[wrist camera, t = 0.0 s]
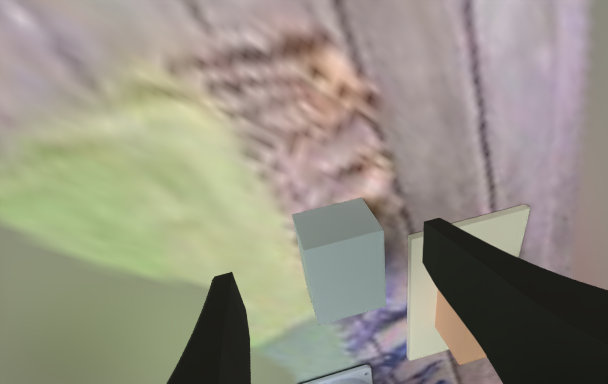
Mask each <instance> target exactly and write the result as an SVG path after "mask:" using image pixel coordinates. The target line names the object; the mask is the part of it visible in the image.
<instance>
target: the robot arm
mask: <svg viewBox="0 0 608 384" xmlns="http://www.w3.org/2000/svg"><path fill="white" fill-rule="evenodd" d="M422 263H423V264H424V266H425V268H426V270H427V272H428V274H429V275H430V277H431V279H432V281H433V282H434V284H435V286H436V287H437V288H438V290H439V291H440V292H441V294H442V295H443V297H444V298H445V299H446V301H447V302H448V303H449V305H450V306H451V307H452V309H453V310H454V311H455V313H456V314H457V315H458V316H459V318H460V319H461V320H462V322H463V323H464V324H465V326H466V327H467V328H468V330H469V331H470V332H471V334H472V335H473V336H474V338H475V339H476V341H477V342H478V344H479V345H480V346H481V348H482V349H483V351H484V353H485V354H486V356H487V358H488V359H489V361H490V362H491V364H492V366H493V367H494V369H495V371H496V372H497V374H498V376H499V377H500V379H501V381H502V382H503V384H608V290H605V289H602V288H598V287H595V286H592V285H589V284H586V283H583V282H579V281H576V280H573V279H571V278H568V277H565V276H562V275H559V274H557V273H554V272H552V271H549V270H546V269H544V268H541V267H539V266H536V265H534V264H531V263H529V262H527V261H525V260H522V259H520V258H518V257H516V256H513V255H511V254H509V253H507V252H505V251H503V250H501V249H499V248H497V247H495V246H493V245H491V244H489V243H487V242H485V241H483V240H481V239H479V238H477V237H475V236H473V235H471V234H469V233H468V232H466V231H464V230H462V229H460V228H458V227H456V226H455V225H453V224H451V223H449V222H447V221H445V220H443V219H441V218H436V219H433V220H429V221H425V222H424V233H423V257H422ZM167 384H251V372H250V336H249V328H248V321H247V314H246V309H245V306H244V303H243V301H242V298H241V295H240V293H239V290H238V287H237V284H236V282H235V279H234V276H233V273H232V272H230V273H226V274H222V275H219V276H215V277H214V278H213V280H212V283H211V286H210V289H209V292H208V295H207V298H206V301H205V303H204V306H203V309H202V311H201V314H200V316H199V319H198V321H197V323H196V326H195V328H194V331H193V333H192V335H191V337H190V339H189V341H188V343H187V346H186V348H185V350H184V352H183V354H182V356H181V358H180V360H179V362H178V364H177V366H176V368H175V369H174V371H173V373H172V375H171V377H170V378H169V380H168V382H167ZM303 384H373V383H372V371H371V367H370V365H363V366H360V367H356V368H353V369H350V370H346V371H343V372H340V373H336V374H333V375H330V376H326V377H323V378H320V379H316V380H313V381H310V382H306V383H303Z"/></svg>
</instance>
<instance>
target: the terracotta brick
mask: <svg viewBox="0 0 608 384" xmlns="http://www.w3.org/2000/svg"><path fill="white" fill-rule="evenodd" d="M435 327H436V329H437V331H438V332H439V334H440V335H441V337H442V338H443V340H444V342H445V343H446V345H447V346H448V348H449V349H450V351H451V352H452V354H453V356H454V357H455V359H456V360H457V362H458V363H459V365H462V364H465V363H468V362H472V361H475V360H478V359H481V358H485V357H487V356H486V354H485V353H484V351H483V349H482V348H481V346H480V345H479V344H478V342H477V341H476V339H475V338H474V336H473V335H472V334H471V332H470V331H469V330H468V328H467V327H466V326H465V324H464V323H463V322H462V320H461V319H460V318H459V316H458V315H457V314H456V313H455V311H454V310H453V309H452V307H451V306H450V305H449V303H448V302H447V301H446V299H445V298H444V297H443V295H442V294H441V292H440V291H439V290H438V291H437V304H436V316H435Z"/></svg>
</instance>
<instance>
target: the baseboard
mask: <svg viewBox="0 0 608 384" xmlns="http://www.w3.org/2000/svg"><path fill="white" fill-rule="evenodd" d="M529 212H530V208H529V207H528V206H526V205H525V204H524V205H520V206H516V207H513V208H509V209H505V210H501V211H498V212H494V213H490V214H486V215H482V216H479V217H475V218H471V219H467V220H464V221H460V222H456V223H452V224H453V225H455V226H456V227H458V228H460V229H462V230H464V231H466V232H468V233H469V234H471V235H473V236H475V237H477V238H479V239H481V240H483V241H485V242H487V243H489V244H491V245H493V246H495V247H497V248H499V249H501V250H503V251H505V252H507V253H509V254H511V255H513V256H516V257H519V253H520V249H521V244H522V240H523V236H524V232H525V228H526V224H527V220H528V216H529ZM423 233H424V231H422V232H418V233H414V234H411V235H408V285H407V358H408V359H409V361H412V360H415V359H418V358H421V357H425V356H428V355H431V354H435V353H438V352H441V351H445V350H448V349H449V348H448V346H447V345H446V343H445V342H444V340H443V338H442V337H441V335H440V334H439V332H438V331H437V329H436V327H435V316H436V304H437V291H438V288H437V287H436V286H435V284H434V282H433V281H432V279H431V277H430V275H429V274H428V272H427V270H426V268H425V266H424V264H423V263H422V257H423Z"/></svg>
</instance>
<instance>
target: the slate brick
mask: <svg viewBox="0 0 608 384" xmlns="http://www.w3.org/2000/svg"><path fill="white" fill-rule="evenodd" d="M292 217H293V222H294V227H295V231H296V236H297V241H298V246H299V251H300V256H301V261H302V265H303V270H304V275H305V280H306V285H307V289H308V292H309V295H310V299H311V302H312V306H313V309H314V312H315V316H316V319H317V322H318V325H322V324H325V323H329V322H332V321H336V320H339V319H343V318H346V317H350V316H353V315H357V314H360V313H364V312H368V311H371V310H375V309H378V308H382V307H385V306H386V290H385V255H384V230H383V228H382V227H381V225H380V224H379V222H378V221H377V219H376V218H375V216H374V215H373V213H372V212H371V211H370V209H369V208H368V206H367V205H366V203H365V202H364V200H363V199H362V198H358V199H354V200H350V201H346V202H342V203H337V204H333V205H329V206H325V207H321V208H317V209H313V210H309V211H305V212H301V213H297V214H293V215H292Z"/></svg>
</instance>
